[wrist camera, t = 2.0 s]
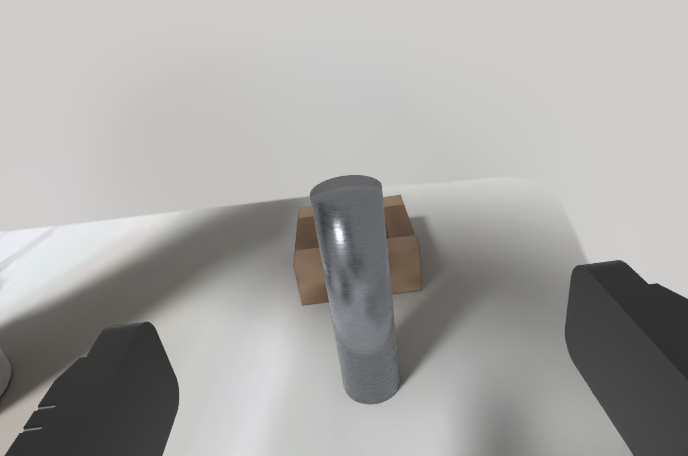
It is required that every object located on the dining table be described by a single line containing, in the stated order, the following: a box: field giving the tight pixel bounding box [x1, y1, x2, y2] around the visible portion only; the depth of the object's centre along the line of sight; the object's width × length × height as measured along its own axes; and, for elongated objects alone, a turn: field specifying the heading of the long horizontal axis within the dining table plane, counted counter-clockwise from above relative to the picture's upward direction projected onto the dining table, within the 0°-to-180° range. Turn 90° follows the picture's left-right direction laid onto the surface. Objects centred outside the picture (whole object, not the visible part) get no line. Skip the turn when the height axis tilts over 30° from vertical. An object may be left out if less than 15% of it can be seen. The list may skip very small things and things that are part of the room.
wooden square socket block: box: [293, 195, 422, 305], centre depth 36 cm, size 9×9×4 cm
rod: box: [310, 175, 400, 404], centre depth 24 cm, size 3×3×12 cm
